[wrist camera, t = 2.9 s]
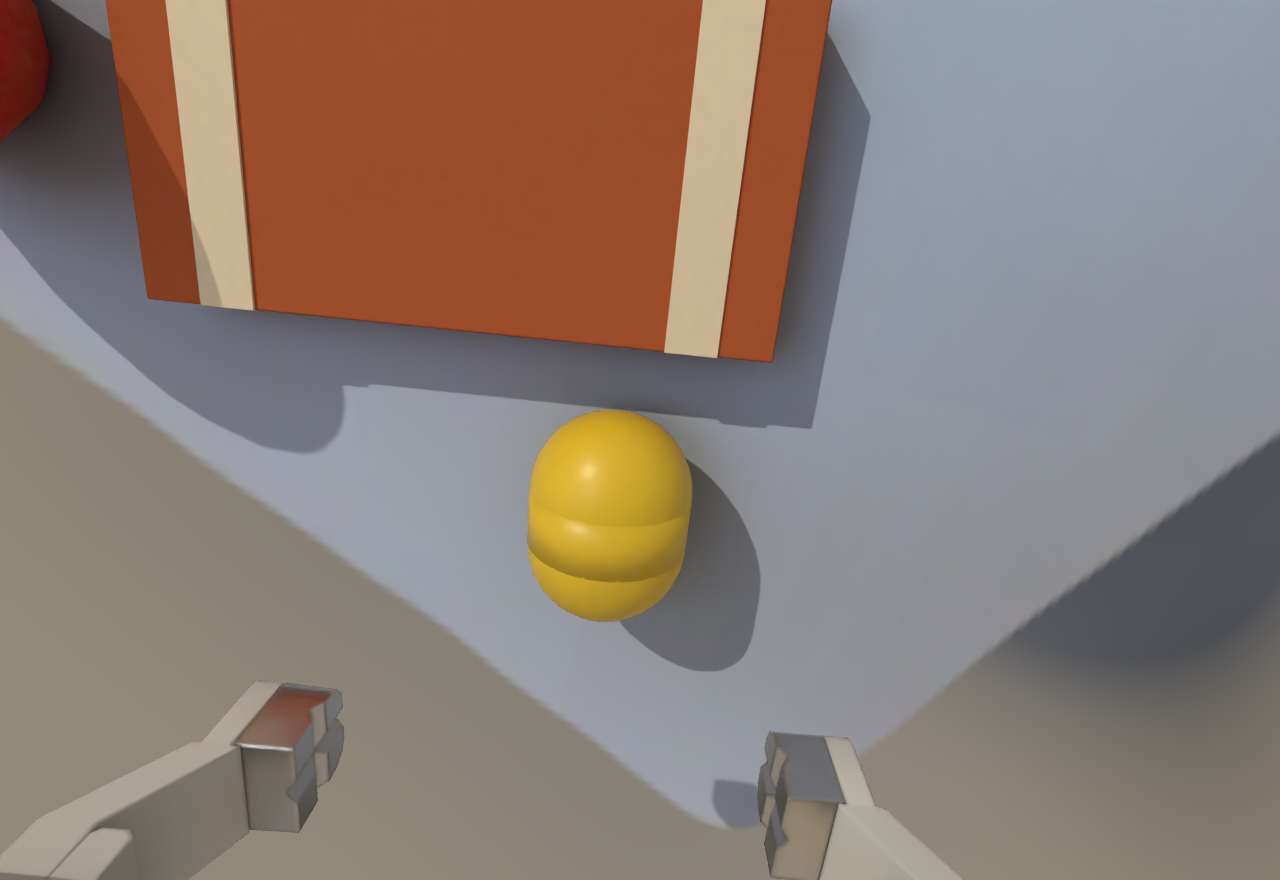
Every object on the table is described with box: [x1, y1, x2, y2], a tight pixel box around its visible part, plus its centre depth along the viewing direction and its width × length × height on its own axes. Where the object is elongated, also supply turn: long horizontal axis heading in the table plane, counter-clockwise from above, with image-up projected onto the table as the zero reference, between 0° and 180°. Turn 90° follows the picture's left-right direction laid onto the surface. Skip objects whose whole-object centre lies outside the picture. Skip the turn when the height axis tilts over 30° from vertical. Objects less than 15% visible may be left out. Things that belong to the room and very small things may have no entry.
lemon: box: [527, 410, 692, 622], centre depth 22 cm, size 7×5×5 cm
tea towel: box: [106, 0, 832, 362], centre depth 20 cm, size 19×10×2 cm, turn 84°
